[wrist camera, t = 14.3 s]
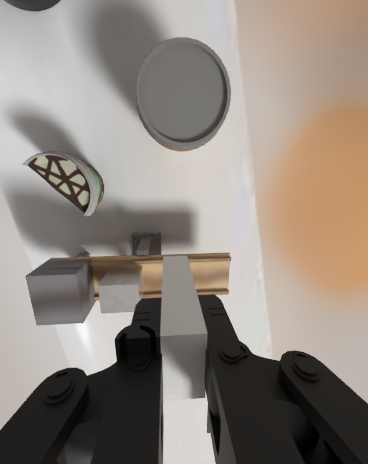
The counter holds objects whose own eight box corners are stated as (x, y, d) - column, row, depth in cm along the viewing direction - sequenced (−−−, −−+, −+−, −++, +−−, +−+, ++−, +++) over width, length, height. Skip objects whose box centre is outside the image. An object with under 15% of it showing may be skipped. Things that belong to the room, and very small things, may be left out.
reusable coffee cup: (153, 78, 38) (145, 17, 23) (216, 99, 39) (246, 55, 25) (139, 148, 41) (125, 133, 26) (199, 165, 42) (216, 159, 28)
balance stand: (77, 234, 44) (52, 250, 34) (160, 232, 45) (159, 247, 36) (84, 283, 47) (63, 311, 38) (162, 280, 49) (161, 306, 39)
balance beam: (53, 255, 37) (25, 275, 29) (227, 250, 39) (241, 267, 32) (61, 297, 39) (36, 325, 32) (225, 290, 41) (237, 315, 34)
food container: (123, 187, 42) (110, 191, 33) (104, 208, 43) (86, 218, 34) (73, 141, 39) (44, 130, 30) (54, 165, 40) (18, 162, 30)
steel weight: (108, 268, 36) (97, 286, 31) (142, 267, 37) (138, 284, 31) (111, 292, 38) (101, 313, 32) (144, 290, 38) (140, 311, 32)
